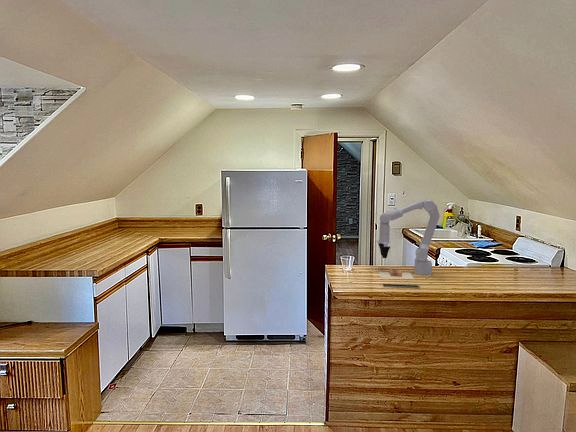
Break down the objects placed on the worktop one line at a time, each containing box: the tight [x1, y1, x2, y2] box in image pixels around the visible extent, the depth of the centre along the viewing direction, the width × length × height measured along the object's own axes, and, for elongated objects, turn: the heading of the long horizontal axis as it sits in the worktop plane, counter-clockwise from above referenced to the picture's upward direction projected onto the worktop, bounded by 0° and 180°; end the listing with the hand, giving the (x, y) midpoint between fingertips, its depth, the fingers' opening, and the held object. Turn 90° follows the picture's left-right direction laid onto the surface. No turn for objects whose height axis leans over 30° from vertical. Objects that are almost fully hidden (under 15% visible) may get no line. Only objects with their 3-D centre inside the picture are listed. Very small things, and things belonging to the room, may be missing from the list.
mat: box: [382, 283, 420, 289], centre depth 222 cm, size 18×14×1 cm
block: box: [388, 268, 403, 277], centre depth 236 cm, size 6×8×2 cm
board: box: [377, 271, 415, 280], centre depth 236 cm, size 18×13×1 cm
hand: (383, 256), depth 245 cm, fingers open, 7 cm apart
